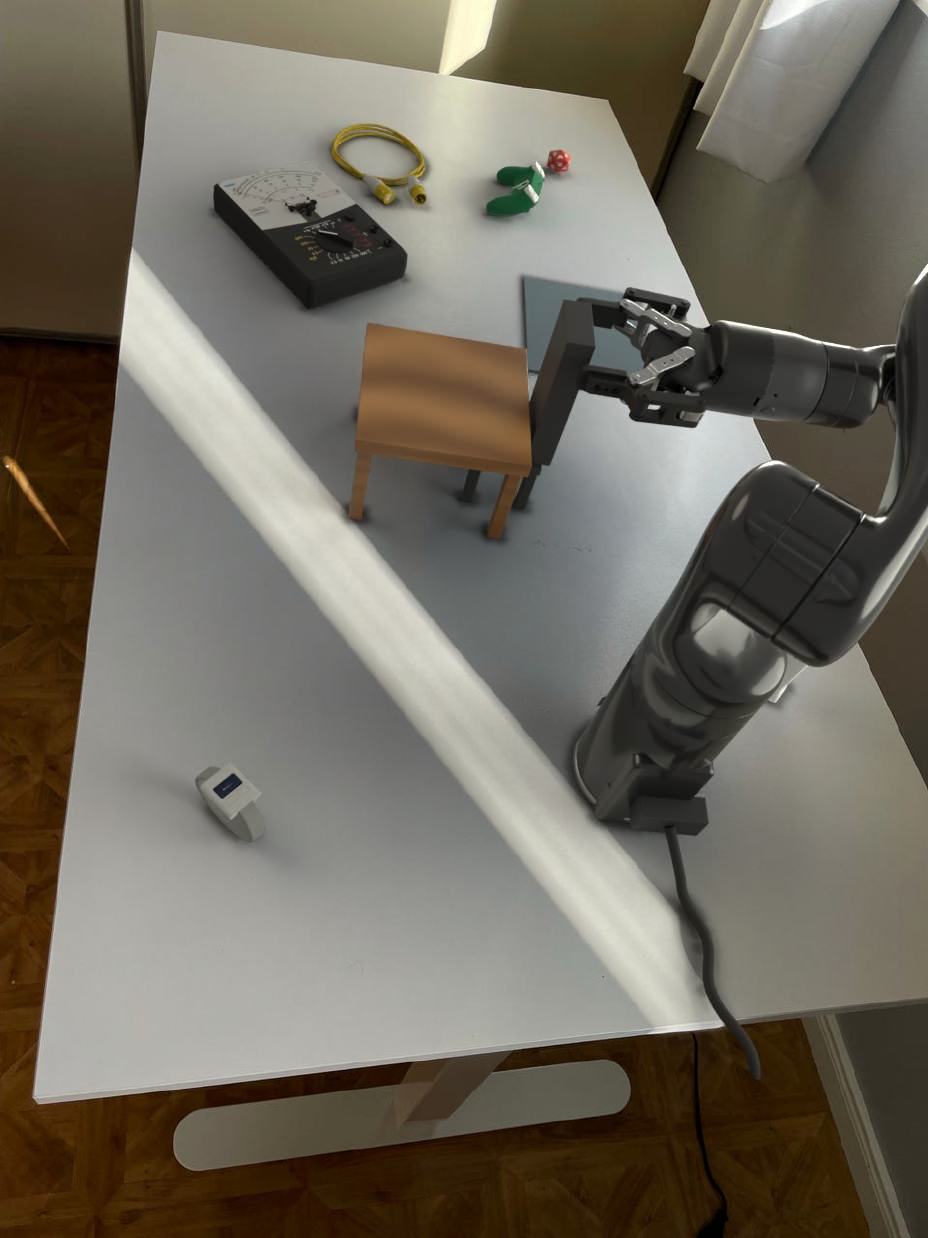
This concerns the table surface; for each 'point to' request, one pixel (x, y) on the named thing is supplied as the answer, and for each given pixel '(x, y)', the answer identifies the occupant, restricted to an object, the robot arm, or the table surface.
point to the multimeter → (309, 232)
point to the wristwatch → (232, 800)
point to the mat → (543, 315)
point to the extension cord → (375, 183)
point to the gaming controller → (518, 190)
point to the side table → (443, 409)
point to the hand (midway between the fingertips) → (576, 341)
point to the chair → (552, 393)
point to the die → (558, 160)
